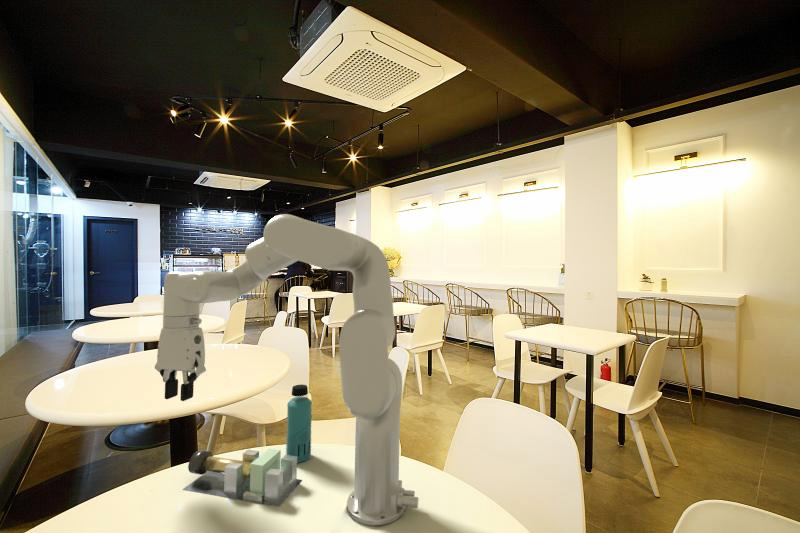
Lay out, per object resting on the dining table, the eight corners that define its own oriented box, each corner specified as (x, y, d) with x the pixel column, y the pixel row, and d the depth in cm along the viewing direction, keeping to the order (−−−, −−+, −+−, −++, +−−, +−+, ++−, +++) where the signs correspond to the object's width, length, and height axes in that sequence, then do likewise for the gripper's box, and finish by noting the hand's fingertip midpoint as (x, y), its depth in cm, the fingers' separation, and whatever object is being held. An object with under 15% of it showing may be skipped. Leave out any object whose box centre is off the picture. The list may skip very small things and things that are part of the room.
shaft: (258, 475, 83) (258, 454, 83) (244, 487, 78) (245, 465, 79) (203, 466, 86) (204, 446, 87) (187, 477, 82) (188, 456, 82)
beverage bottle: (295, 471, 89) (297, 391, 89) (280, 463, 93) (282, 386, 93) (316, 461, 94) (318, 385, 95) (300, 453, 98) (302, 380, 99)
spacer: (279, 480, 83) (280, 450, 83) (261, 498, 76) (262, 465, 76) (268, 478, 84) (269, 448, 84) (249, 496, 77) (250, 463, 77)
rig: (302, 485, 83) (303, 455, 84) (278, 512, 74) (279, 478, 74) (214, 470, 89) (215, 442, 89) (182, 494, 79) (183, 463, 79)
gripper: (222, 322, 88) (219, 396, 88) (166, 319, 92) (164, 390, 91) (198, 326, 81) (196, 407, 80) (139, 322, 84) (136, 400, 84)
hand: (179, 397), depth 86 cm, fingers open, 3 cm apart
